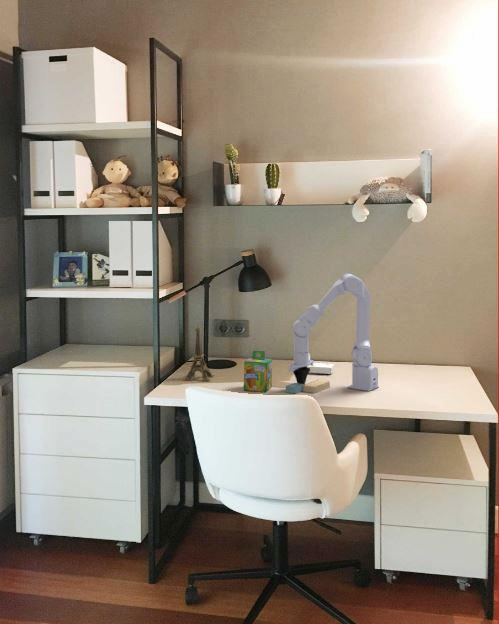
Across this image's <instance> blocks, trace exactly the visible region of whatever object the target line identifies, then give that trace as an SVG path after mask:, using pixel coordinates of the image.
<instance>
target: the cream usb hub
mask: <svg viewBox="0 0 499 624" xmlns="http://www.w3.org/2000/svg"><path fill="white" fill-rule="evenodd" d="M330 387H331V382H330V380H324V379H316V380H314V381H313V380H312V381H311V382H308V383H305V385H303V391H302V392H305V393H312V394H316V393H319V392H321V391H324V390H327V389H329V388H330Z"/></svg>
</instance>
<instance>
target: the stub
mask: <svg viewBox="0 0 499 624" xmlns="http://www.w3.org/2000/svg"><path fill="white" fill-rule="evenodd" d="M303 385H304V384H300V383H297V382H293V383H290V384H288V385H287V384H286V385H285V392H286V393H289V392H290V394H294V393H295V394H297V393H300V392H304V391H303Z"/></svg>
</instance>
